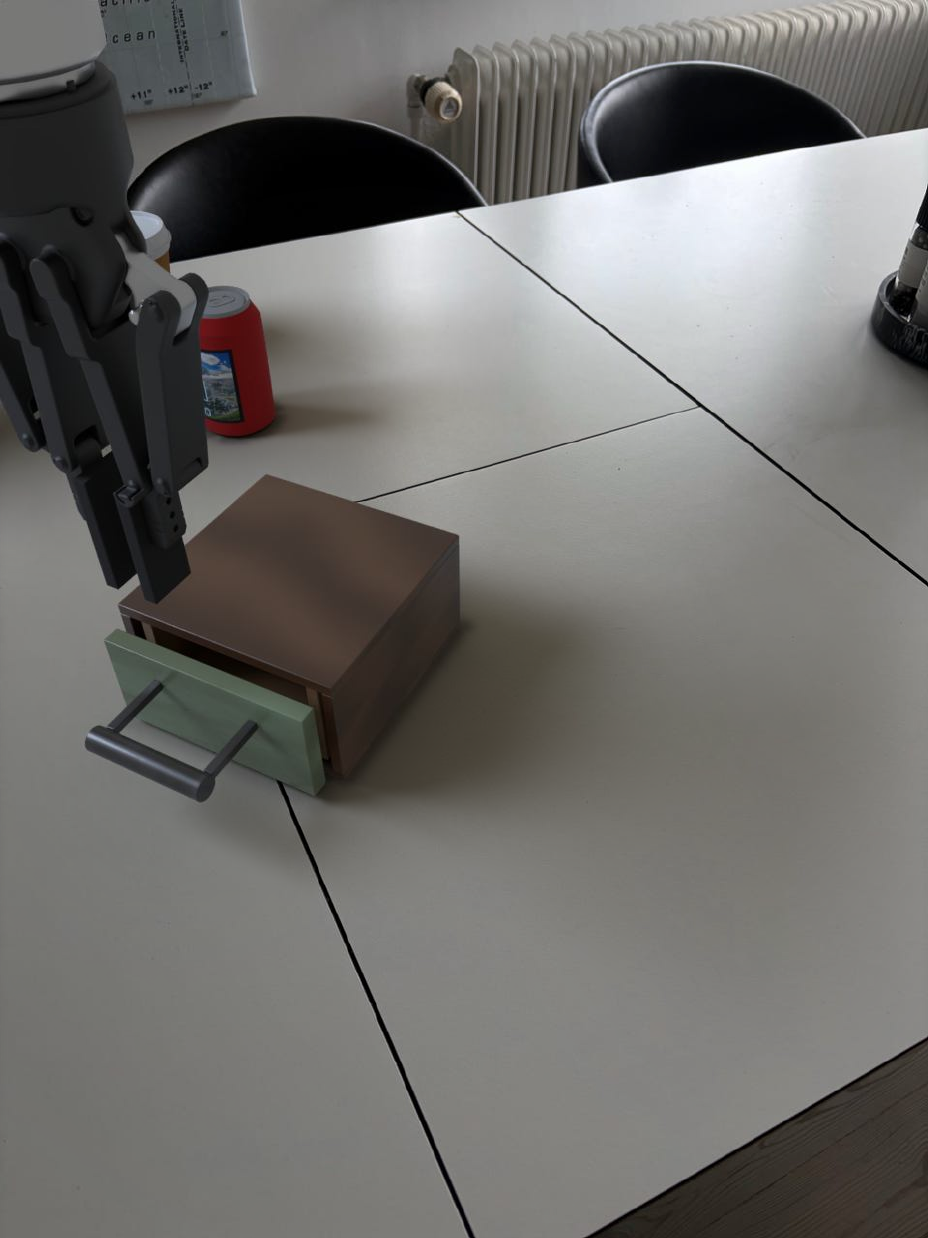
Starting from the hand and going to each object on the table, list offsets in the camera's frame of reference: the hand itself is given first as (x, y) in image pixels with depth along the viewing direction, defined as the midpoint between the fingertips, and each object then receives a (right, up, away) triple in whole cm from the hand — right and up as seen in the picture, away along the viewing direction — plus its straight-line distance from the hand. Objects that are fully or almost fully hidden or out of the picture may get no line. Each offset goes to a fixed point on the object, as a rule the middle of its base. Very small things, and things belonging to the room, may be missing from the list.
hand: (149, 578), depth 51 cm
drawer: (+3, -8, +14) cm, 17 cm away
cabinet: (+5, -5, +19) cm, 20 cm away
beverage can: (-5, +16, +41) cm, 45 cm away
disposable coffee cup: (-17, +26, +53) cm, 61 cm away
